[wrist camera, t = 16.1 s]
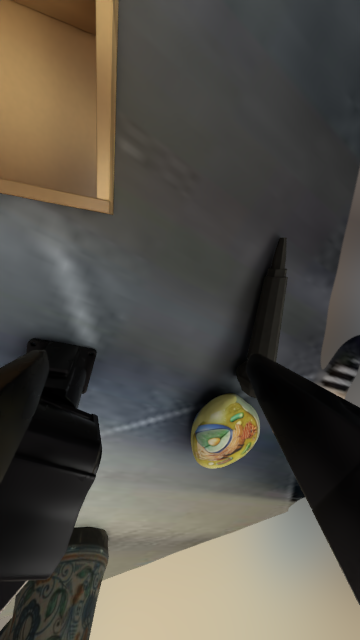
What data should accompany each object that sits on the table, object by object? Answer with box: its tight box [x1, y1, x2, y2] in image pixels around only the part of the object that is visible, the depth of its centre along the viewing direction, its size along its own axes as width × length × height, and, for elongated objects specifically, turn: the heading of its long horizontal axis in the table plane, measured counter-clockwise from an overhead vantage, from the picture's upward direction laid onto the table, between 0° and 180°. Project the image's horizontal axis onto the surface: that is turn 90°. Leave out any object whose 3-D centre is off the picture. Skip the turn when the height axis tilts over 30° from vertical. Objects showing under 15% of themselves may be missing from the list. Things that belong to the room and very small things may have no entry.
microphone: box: [236, 238, 288, 398], centre depth 24 cm, size 6×6×20 cm
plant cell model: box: [191, 393, 260, 468], centre depth 30 cm, size 11×8×15 cm
